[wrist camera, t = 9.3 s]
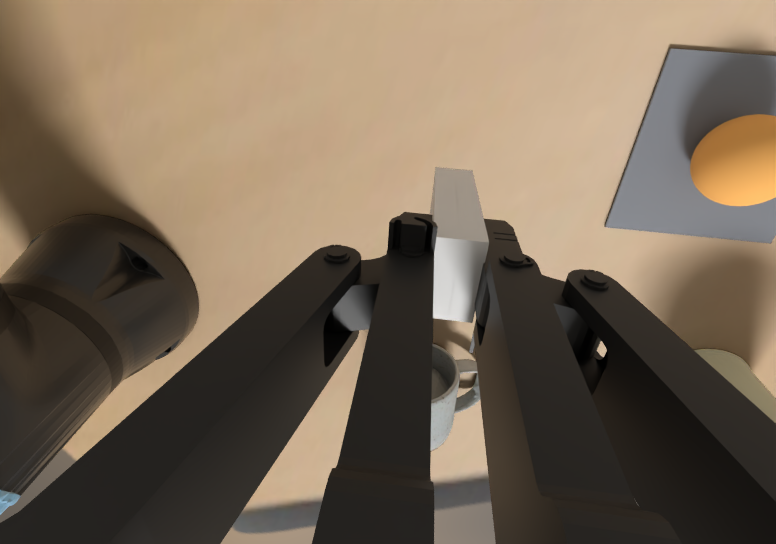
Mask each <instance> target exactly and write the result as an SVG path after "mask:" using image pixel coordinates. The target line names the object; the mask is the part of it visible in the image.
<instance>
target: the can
mask: <svg viewBox="0 0 776 544" xmlns="http://www.w3.org/2000/svg"><path fill="white" fill-rule="evenodd" d="M694 351H695V352H696V353H697V354H699V355H700V356H701V357H702V358H703V359H704V360H705V361H706V362H708V363H709V364H710V365H711V366H712V367H713V368H714V369H715V370H717V371H718V372H719V373H720V374H721V375H722V376H723V377H724V378H725V379H727V380H728V381H729V382H730V383H731V384H732V385H733V386H734V387H736V388H737V389H738V390H739V391H740V392H741V393H742V394H743V395H745V396H746V397H747V398H748V399H749V400H750V401H751V402H752V403H754V404H755V405H756V406H757V407H758V408H759V409H760V410H761V411H762V412H764V413H765V414H766V415H767V416H768V417H769V418H770V419H771V420H773V421H774V422H775V423H776V398H775V397H774V396H773V395H772V394H771V393H770V391H769V390H768V389H767V388H766V387H765V386H764V385H763V384H762V383H761V381H760V380H759V379H758V378H757V377H756V376H755V374H754V373H753V372H752V371H751V369H750V367H749V365H748V364H747V363H746V362H745V361H744V360H743V359H742V358H740V357H739V356H737V355H735V354H733V353H730V352H727V351H724V350H718V349H697V350H694Z"/></svg>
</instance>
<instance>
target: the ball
mask: <svg viewBox="0 0 776 544" xmlns="http://www.w3.org/2000/svg"><path fill="white" fill-rule="evenodd" d="M690 174H691V178H692V181H693V183H694V185H695V186H696V188H697V189H698V190H699V191H700V192H701V193H702V194H703V195H704V196H705V197H707V198H708V199H710V200H712V201H714V202H717V203H720V204H723V205H729V206H749V205H755V204H759V203H763V202H766V201H768V200H771V199H773V198H775V197H776V116H772V115H765V114H755V115H746V116H741V117H738V118H735V119H731V120H729V121H727V122H724V123H723V124H721V125H719V126H717V127H716V128H714V129H713V130H712V131H710V132H709V133H708V134H707V135H706V136H705V137H704V138H703V139H702V140H701V141H700V143H699V144H698V145H697V147H696V149H695V150H694V153H693V155H692V158H691V163H690Z"/></svg>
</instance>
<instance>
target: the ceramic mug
mask: <svg viewBox="0 0 776 544" xmlns="http://www.w3.org/2000/svg"><path fill="white" fill-rule="evenodd" d="M462 373H477V376H476V380H475V383H474V385H473V388H472V389H471V390H470V391H468V392H467V393H466V394H464V395H462V396H460V397H458V398H457V392H458V387H459V381H460V374H462ZM479 400H480V390H479V381H478V371H477V362H476V361H473V360H469V359H462V360H455V359H454V357H453V356H452V355H451V354H450V353H449V352H448V351H446V350H445V349H443V348H442V347H440V346H438V345H436V344H433V345H432V398H431V451H433V450H435V449H437V448H438V447H439V446H441V445H442V444H443V443H444V442H445V440H446V439H447V437H448V435H449V433H450V431H451V428H452V425H453V420H454V413H458V412H461V411H463V410H466V409H468V408H470V407H471V406H473V405H475V404H476V403H477V402H478V401H479Z"/></svg>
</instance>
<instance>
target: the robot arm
mask: <svg viewBox="0 0 776 544" xmlns="http://www.w3.org/2000/svg"><path fill="white" fill-rule="evenodd" d="M517 241H518V240H517V237H516V236H515V232H514V229H513V227H512V226H510V225H509V224H508V223H507V222H506V221H502V220H491V219H484V218H483V214H482V209H481V205H480V201H479V196H478V192H477V188H476V184H475V179H474V175H473V171H472V170H461V169H450V168H439V167H436V168H435V177H434V185H433V193H432V201H431V209H430V215H429V214H419V213H409V212H404V213H403V214H401V215H400V216H397V217H395V218H393V219H392V220H391V221H390V222H389V237H388V250H387V254H386V255H385V256H383V257H380V258H377V259H371V260H361V255H360V253H359V252H358V251H356V250H355V249H353V248H350V247H347V246H341V245H335V246H334V245H330V246H327V247H323V248H320V249H318V250H317V251H315V252H314V253H313V254H312V255H310V256H309V257H308V258H307V259H306V260H305V261H304V262H303V263H301V264H300V265H299V266H298V267H297V268H296V269H295V270H293V271H292V272H291V273H290V274H289V275H288V276H287V277H285V278H284V279H283V280H282V281H281V282H280V283H279V284H278V285H276V286H275V287H274V288H273V289H272V290H271V291H270V292H268V293H267V294H266V295H265V296H264V297H263V298H262V299H260V300H259V301H258V302H257V303H256V304H255V305H254V306H253V307H251V308H250V309H249V310H248V311H247V312H246V313H245V314H243V315H242V316H241V317H240V318H239V319H238V320H237V321H235V322H234V323H233V324H232V325H231V326H230V327H229V328H228V329H226V330H225V331H224V332H223V333H222V334H221V335H220V336H218V337H217V338H216V339H215V340H214V341H213V342H212V343H210V344H209V345H208V346H207V347H206V348H205V349H204V350H203V351H201V352H200V353H199V354H198V355H197V356H196V357H195V358H193V359H192V360H191V361H190V362H189V363H188V364H187V365H185V366H184V367H183V368H182V369H181V370H180V371H179V372H177V373H176V374H175V375H174V376H173V377H172V378H171V379H170V380H168V381H167V382H166V383H165V384H164V385H163V386H162V387H160V388H159V389H158V390H157V391H156V392H155V393H154V394H152V395H151V396H150V397H149V398H148V399H147V400H146V401H145V402H143V403H142V404H141V405H140V406H139V407H138V408H137V409H135V410H134V411H133V412H132V413H131V414H130V415H129V416H127V417H126V418H125V419H124V420H123V421H122V422H121V423H120V424H118V425H117V426H116V427H115V428H114V429H113V430H112V431H110V432H109V433H108V434H107V435H106V436H105V437H104V438H102V439H101V440H100V441H99V442H98V443H97V444H96V445H95V446H93V447H92V448H91V449H90V450H89V451H88V452H87V453H85V454H84V455H83V456H82V457H81V458H80V459H79V460H77V461H76V462H75V463H74V464H73V465H72V466H71V467H70V468H68V469H67V470H66V471H65V472H64V473H63V474H62V475H60V476H59V477H58V478H57V479H56V480H55V481H54V482H52V483H51V484H50V485H49V486H48V487H47V488H46V489H45V490H43V491H42V492H41V493H40V494H39V495H38V496H37V497H36V498H34V499H33V500H32V501H31V502H30V503H29V504H28V505H26V506H25V507H24V508H23V509H22V510H21V511H19V512H18V513H16V514H14V515H13V516H11V517H10V518H8V519H6V520H5V521H3V522H1V523H0V544H220V543H221V542H222V540H223V539H224V537H225V536H226V534H227V533H228V531H229V530H230V528H231V527H232V525H233V524H234V522H235V521H236V519H237V518H238V516H239V515H240V513H241V512H242V510H243V509H244V507H245V506H246V504H247V503H248V501H249V500H250V498H251V497H252V495H253V494H254V492H255V491H256V489H257V488H258V486H259V485H260V483H261V482H262V480H263V479H264V477H265V476H266V474H267V473H268V471H269V470H270V468H271V467H272V465H273V464H274V462H275V461H276V459H277V458H278V456H279V455H280V453H281V452H282V450H283V449H284V447H285V446H286V444H287V443H288V441H289V440H290V438H291V437H292V435H293V434H294V432H295V431H296V429H297V428H298V426H299V425H300V423H301V422H302V420H303V419H304V417H305V416H306V414H307V413H308V411H309V410H310V408H311V407H312V405H313V404H314V402H315V401H316V399H317V398H318V396H319V395H320V393H321V392H322V390H323V389H324V387H325V386H326V384H327V383H328V381H329V380H330V378H331V377H332V375H333V374H334V372H335V371H336V369H337V368H338V366H339V365H340V363H341V362H342V360H343V359H344V357H345V356H346V354H347V353H348V351H349V350H350V348H351V347H352V345H353V344H354V342H355V341H356V339H357V337H358V334H359V330H365V329H369V332H368V336H367V340H366V345H365V349H364V353H363V358H362V362H361V366H360V370H359V375H358V379H357V383H356V388H355V392H354V396H353V401H352V405H351V409H350V414H349V418H348V422H347V426H346V431H345V435H344V439H343V444H342V448H341V452H340V457H339V460H338V464H337V466H336V468H332V471H331V473H330V475H329V478H328V482H327V485H326V489H325V493H324V497H323V501H322V505H321V509H320V513H319V517H318V521H317V525H316V529H315V533H314V537H313V541H312V544H434V486H433V482H432V481H431V479H430V452H431V398H432V345H433V318H436V319H445V320H453V321H462V322H471V323H472V322H473V317H474V312H475V311H476V323H475V327H474V332H473V337H472V341H471V346H470V351H469V353H473V351H474V348H475V353H476V362H477V371H478V381H479V390H480V400H481V409H482V418H483V428H484V437H485V446H486V456H487V465H488V474H489V484H490V493H491V502H492V512H493V520H494V530H495V540H496V544H776V423H775V422H774V421H773V420H771V419H770V418H769V417H768V416H767V415H766V414H765V413H764V412H762V411H761V410H760V409H759V408H758V407H757V406H756V405H755V404H754V403H752V402H751V401H750V400H749V399H748V398H747V397H746V396H745V395H743V394H742V393H741V392H740V391H739V390H738V389H737V388H736V387H734V386H733V385H732V384H731V383H730V382H729V381H728V380H727V379H725V378H724V377H723V376H722V375H721V374H720V373H719V372H718V371H717V370H715V369H714V368H713V367H712V366H711V365H710V364H709V363H708V362H706V361H705V360H704V359H703V358H702V357H701V356H700V355H699V354H697V353H696V352H695V351H694V350H693V349H692V348H691V347H690V346H689V345H687V344H686V343H685V342H684V341H683V340H682V339H681V338H680V337H678V336H677V335H676V334H675V333H674V332H673V331H672V330H671V329H669V328H668V327H667V326H666V325H665V324H664V323H663V322H662V321H660V320H659V319H658V318H657V317H656V316H655V315H654V314H653V313H652V312H650V311H649V310H648V309H647V308H646V307H645V306H644V305H643V304H641V303H640V302H639V301H638V300H637V299H636V298H635V297H634V296H632V295H631V294H630V293H629V292H628V291H627V290H626V289H625V288H623V287H622V286H621V285H620V284H619V283H618V282H617V281H615V280H614V279H612V278H611V277H609V276H607V275H604V274H603V273H601V272H598V271H596V272H595V271H594V270H581V269H580V270H573V271H572V272H570V273H568V276H567V279H566V282H564V281H560V280H557V279H553V278H550V277H547V276H544V275H541V272H540V270H539V267H538V265H537V263H536V262H535V261H534V260H533V259H532V258H530V257H529V256H527V255H524V254H523V253H522V251H521V248H520V245H519V243H518V242H517ZM198 312H199V303H198V296H197V292H196V289H195V286H194V284H193V282H192V280H191V278H190V276H189V274H188V272H187V271H186V269H185V268H184V266H183V265H182V264H181V262H180V261H179V260H178V259H177V257H176V256H175V255H174V254H173V253H172V252H171V251H170V250H169V249H168V248H167V247H166V246H165V245H163V244H162V243H161V242H160V241H158V240H157V239H156V238H155V237H153V236H152V235H150V234H149V233H147V232H145V231H144V230H142V229H140V228H138V227H136V226H134V225H132V224H130V223H127V222H125V221H122V220H119V219H116V218H112V217H108V216H102V215H79V216H74V217H70V218H68V219H65V220H63V221H61V222H59V223H57V224H56V225H54V226H52V227H50V228H48V229H46V230H44V231H43V232H41V233H40V234H38V235H37V236H36V237H35V238H34V239H33V240H32V241H31V243H30V244H29V246H28V247H27V249H26V250H25V251H24V253H23V254H22V255H21V256H20V257H19V258H18V259H17V260H16V261H15V262H14V263H13V264H12V266H11V267H10V268H9V269H8V270H7V271H6V272H5V274H4V275H3V276H2V277H1V278H0V514H2V513H3V512H4V511H5V509H7V508H8V506H10V505H13V504H14V503H16V502H17V501H18V499H19V498H20V496H21V495H22V493H23V492H24V491H25V490H26V489H27V488H28V487H29V485H30V484H31V483H32V482H33V481H34V480H35V478H36V477H37V476H38V475H39V474H40V473H41V472H42V471H43V469H44V468H45V467H46V466H47V465H48V464H49V463H50V461H51V460H52V459H53V458H54V457H55V456H56V455H57V454H58V453H59V451H60V450H61V449H62V448H63V447H64V446H65V445H66V443H67V442H68V441H69V440H70V439H71V438H72V437H73V435H74V434H75V433H76V432H77V431H78V430H79V429H80V427H81V426H82V425H83V424H84V423H85V422H86V421H87V420H88V418H89V417H90V416H91V415H92V414H93V413H94V412H95V410H96V409H97V408H98V407H99V406H100V405H101V404H102V402H103V401H104V400H105V399H106V398H107V397H108V395H109V394H110V393H111V392H112V391H113V390H114V389H115V388H116V387H117V386H118V385H119V384H120V383H121V382H122V381H123V380H124V379H126V378H128V377H130V376H131V375H133V374H135V373H137V372H138V371H140V370H142V369H143V368H145V367H146V366H148V365H149V364H151V363H152V362H154V361H155V360H157V359H160V358H162V357H164V356H166V355H168V354H169V353H171V352H172V351H173V350H175V349H176V348H177V347H178V346H179V345H180V344H181V343H182V342H183V340H184V339H185V338H186V337H187V336H188V334H189V333H190V332H191V331H192V329H193V328H194V326H195V324H196V321H197V318H198ZM600 341H602V342H603V343H604V345H605V347H606V349H607V352H606V354H605V356H604V357H602V356H600V354H599V353H598V352H597V348H598V346H599V344H600ZM635 500H636V501H635ZM636 502H637V503H636ZM637 504H638V505H639V506H638V505H637Z"/></svg>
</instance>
